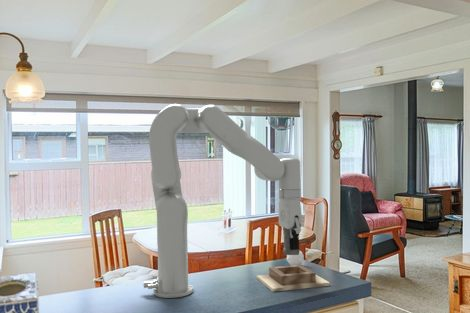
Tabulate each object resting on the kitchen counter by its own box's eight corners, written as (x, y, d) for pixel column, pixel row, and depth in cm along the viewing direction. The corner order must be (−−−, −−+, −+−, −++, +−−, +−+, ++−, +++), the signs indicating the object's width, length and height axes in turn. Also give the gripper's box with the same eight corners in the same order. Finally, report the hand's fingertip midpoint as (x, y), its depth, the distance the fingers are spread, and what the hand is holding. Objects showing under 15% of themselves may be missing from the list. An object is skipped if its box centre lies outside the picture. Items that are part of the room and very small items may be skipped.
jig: (272, 291, 136) (272, 279, 136) (256, 278, 151) (256, 267, 151) (329, 285, 141) (329, 273, 141) (308, 273, 156) (308, 262, 156)
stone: (299, 255, 144) (299, 225, 144) (282, 255, 145) (282, 225, 145) (299, 253, 148) (299, 224, 148) (283, 252, 148) (282, 223, 148)
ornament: (301, 268, 163) (288, 253, 163) (291, 271, 169) (279, 256, 169) (310, 257, 167) (298, 242, 167) (300, 260, 173) (288, 246, 173)
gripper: (271, 193, 153) (272, 244, 153) (289, 197, 137) (290, 254, 137) (290, 192, 155) (291, 242, 155) (310, 195, 139) (312, 252, 139)
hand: (291, 247), depth 146 cm, fingers closed on stone, 4 cm apart
